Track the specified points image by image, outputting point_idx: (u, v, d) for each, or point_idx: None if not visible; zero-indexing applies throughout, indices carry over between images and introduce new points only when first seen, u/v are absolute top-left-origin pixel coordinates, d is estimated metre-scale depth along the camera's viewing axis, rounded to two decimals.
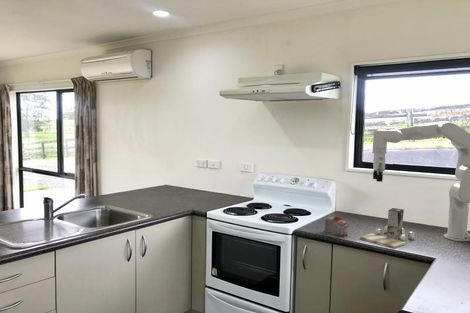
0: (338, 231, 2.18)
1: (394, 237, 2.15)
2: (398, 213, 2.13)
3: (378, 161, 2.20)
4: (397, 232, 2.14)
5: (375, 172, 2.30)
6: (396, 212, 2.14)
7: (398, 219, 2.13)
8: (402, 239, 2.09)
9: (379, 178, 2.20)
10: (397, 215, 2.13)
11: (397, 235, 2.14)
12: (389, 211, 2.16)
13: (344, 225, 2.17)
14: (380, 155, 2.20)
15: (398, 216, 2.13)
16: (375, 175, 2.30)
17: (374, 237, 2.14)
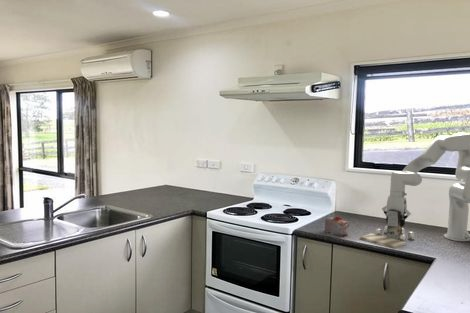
0: (338, 231, 2.18)
1: (394, 237, 2.15)
2: (398, 213, 2.13)
3: (403, 205, 2.13)
4: (397, 232, 2.14)
5: None
6: (396, 212, 2.14)
7: (398, 219, 2.13)
8: (402, 239, 2.09)
9: (403, 223, 2.14)
10: (397, 215, 2.13)
11: (397, 235, 2.14)
12: (389, 211, 2.16)
13: (344, 225, 2.17)
14: (404, 199, 2.13)
15: (398, 216, 2.13)
16: None
17: (374, 237, 2.14)
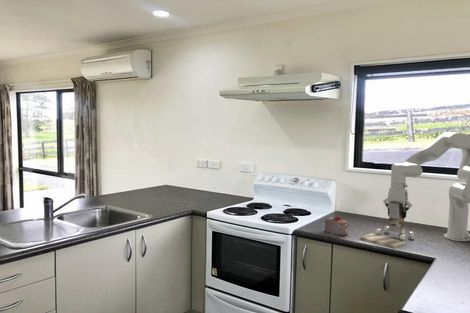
0: (338, 231, 2.18)
1: (396, 229, 2.14)
2: (399, 205, 2.13)
3: (405, 197, 2.13)
4: (399, 224, 2.13)
5: None
6: (397, 204, 2.13)
7: (399, 211, 2.13)
8: (402, 239, 2.09)
9: (405, 215, 2.14)
10: (398, 207, 2.13)
11: (399, 227, 2.13)
12: (390, 203, 2.15)
13: (344, 225, 2.17)
14: (405, 190, 2.13)
15: (399, 208, 2.13)
16: None
17: (374, 237, 2.14)
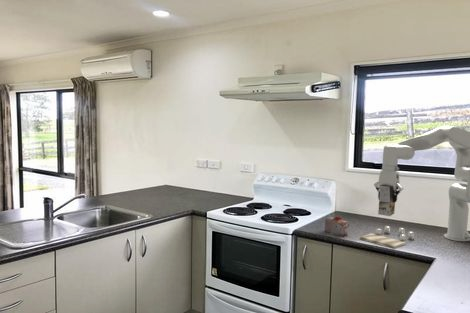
0: (338, 231, 2.18)
1: (386, 213, 2.07)
2: (390, 188, 2.05)
3: (396, 180, 2.05)
4: (389, 208, 2.06)
5: None
6: (388, 187, 2.06)
7: (390, 194, 2.05)
8: (402, 239, 2.09)
9: (396, 199, 2.06)
10: (389, 190, 2.05)
11: (389, 211, 2.06)
12: (381, 186, 2.08)
13: (344, 225, 2.17)
14: (397, 173, 2.06)
15: (390, 191, 2.05)
16: None
17: (374, 237, 2.14)
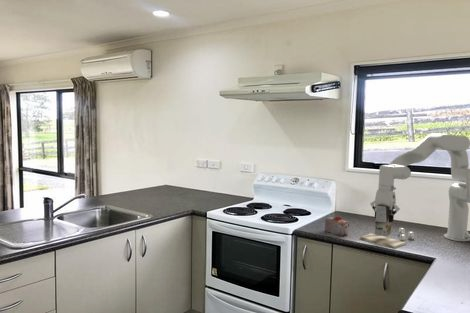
0: (339, 231, 2.18)
1: (382, 233, 2.06)
2: (386, 208, 2.04)
3: (392, 200, 2.04)
4: (385, 228, 2.05)
5: None
6: (384, 207, 2.05)
7: (386, 214, 2.04)
8: (402, 239, 2.09)
9: (392, 219, 2.06)
10: (385, 210, 2.05)
11: (385, 231, 2.05)
12: (377, 206, 2.07)
13: (345, 225, 2.17)
14: (393, 193, 2.05)
15: (386, 211, 2.04)
16: None
17: (374, 237, 2.14)
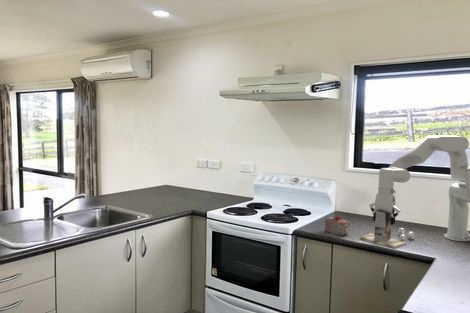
0: (339, 231, 2.18)
1: (382, 239, 2.06)
2: (386, 214, 2.05)
3: (392, 203, 2.04)
4: (385, 233, 2.06)
5: (375, 213, 2.13)
6: (384, 213, 2.05)
7: (386, 220, 2.05)
8: (402, 239, 2.09)
9: (393, 221, 2.05)
10: (385, 216, 2.05)
11: (385, 237, 2.06)
12: (377, 212, 2.08)
13: (345, 225, 2.18)
14: (393, 196, 2.05)
15: (386, 217, 2.05)
16: (375, 216, 2.13)
17: None
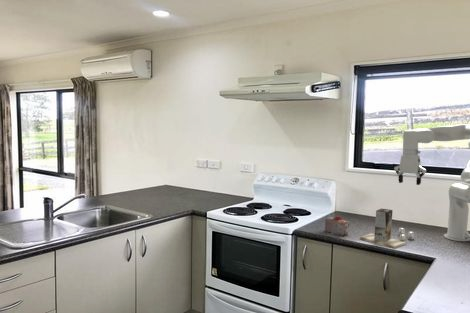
0: (339, 231, 2.19)
1: (382, 239, 2.06)
2: (386, 214, 2.05)
3: (417, 163, 2.08)
4: (385, 233, 2.06)
5: (401, 175, 2.16)
6: (384, 213, 2.05)
7: (386, 220, 2.05)
8: (402, 239, 2.09)
9: (420, 181, 2.09)
10: (385, 216, 2.05)
11: (385, 237, 2.06)
12: (377, 212, 2.08)
13: (345, 225, 2.18)
14: (418, 157, 2.08)
15: (386, 217, 2.05)
16: (401, 178, 2.16)
17: None
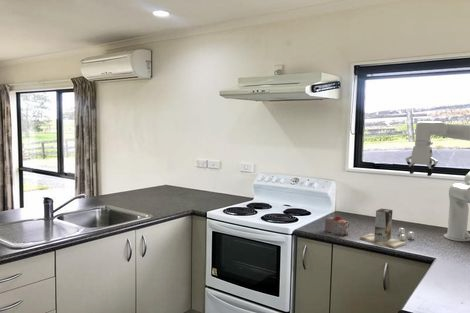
0: (339, 231, 2.19)
1: (382, 239, 2.06)
2: (386, 214, 2.05)
3: (429, 154, 2.10)
4: (385, 233, 2.06)
5: (412, 166, 2.18)
6: (384, 213, 2.05)
7: (386, 220, 2.05)
8: (402, 239, 2.09)
9: (431, 172, 2.11)
10: (385, 216, 2.05)
11: (385, 237, 2.06)
12: (377, 212, 2.08)
13: (345, 225, 2.18)
14: (430, 148, 2.11)
15: (386, 217, 2.05)
16: (412, 169, 2.19)
17: None
